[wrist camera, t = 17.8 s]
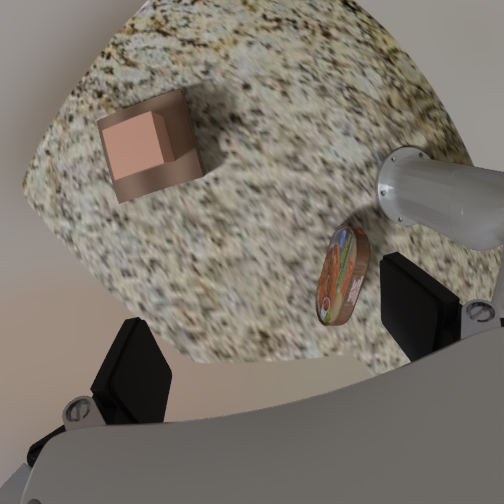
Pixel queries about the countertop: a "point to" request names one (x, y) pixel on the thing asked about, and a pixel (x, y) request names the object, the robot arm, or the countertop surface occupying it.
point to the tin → (342, 275)
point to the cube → (138, 145)
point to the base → (180, 140)
